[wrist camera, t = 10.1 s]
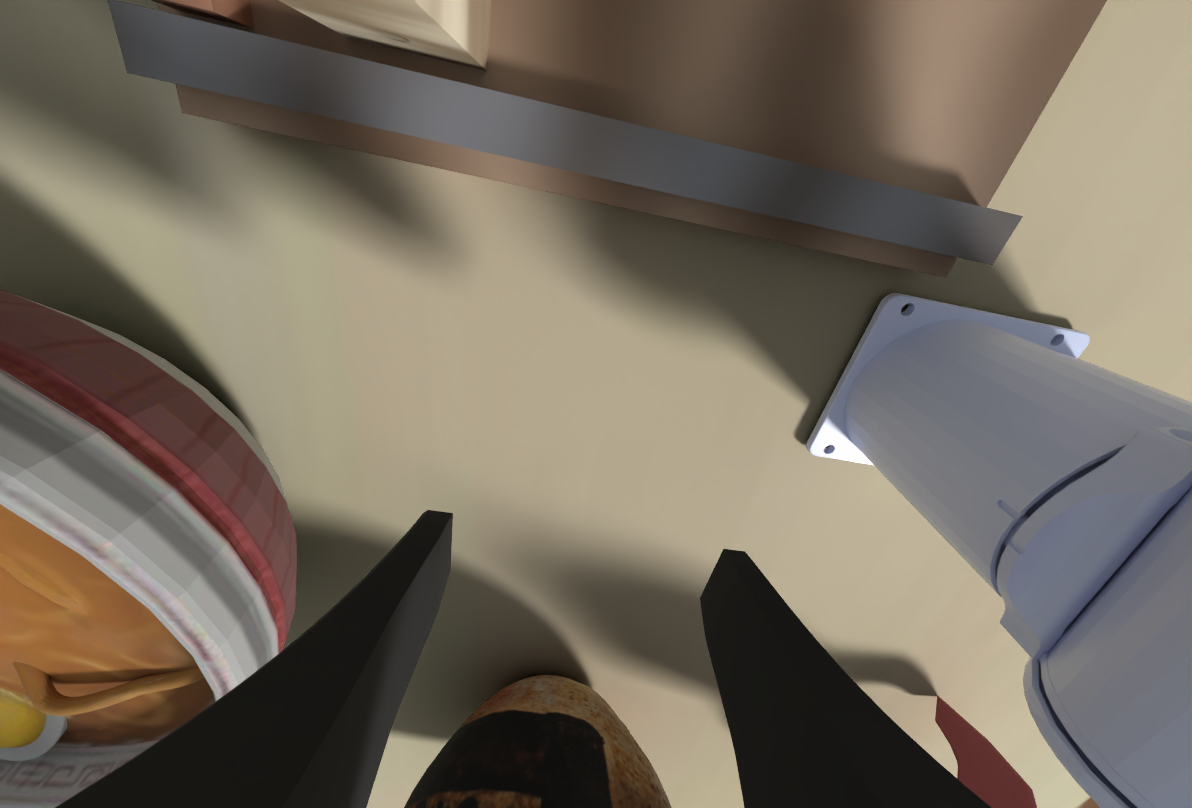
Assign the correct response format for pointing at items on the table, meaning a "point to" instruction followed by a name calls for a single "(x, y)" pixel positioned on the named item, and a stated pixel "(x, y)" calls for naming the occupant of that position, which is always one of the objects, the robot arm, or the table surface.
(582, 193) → the board
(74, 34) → the table surface
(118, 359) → the bowl
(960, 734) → the toy
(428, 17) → the block
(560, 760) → the ceramic vessel
